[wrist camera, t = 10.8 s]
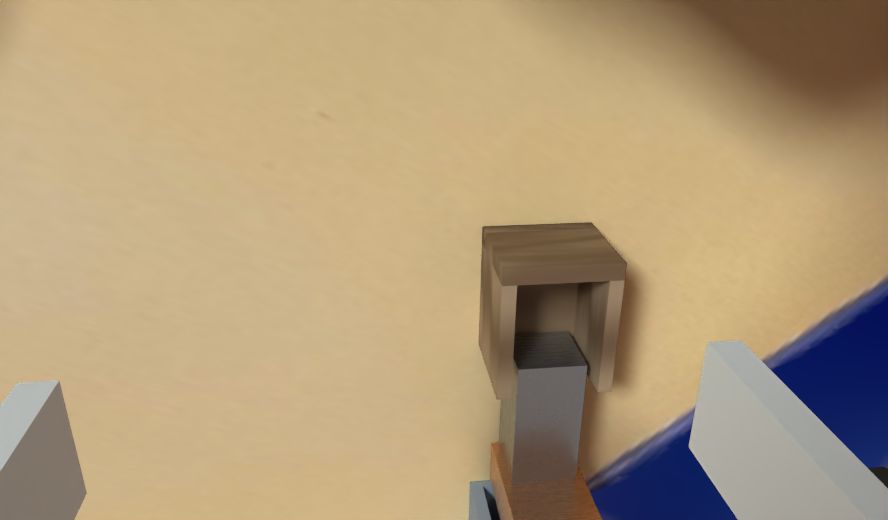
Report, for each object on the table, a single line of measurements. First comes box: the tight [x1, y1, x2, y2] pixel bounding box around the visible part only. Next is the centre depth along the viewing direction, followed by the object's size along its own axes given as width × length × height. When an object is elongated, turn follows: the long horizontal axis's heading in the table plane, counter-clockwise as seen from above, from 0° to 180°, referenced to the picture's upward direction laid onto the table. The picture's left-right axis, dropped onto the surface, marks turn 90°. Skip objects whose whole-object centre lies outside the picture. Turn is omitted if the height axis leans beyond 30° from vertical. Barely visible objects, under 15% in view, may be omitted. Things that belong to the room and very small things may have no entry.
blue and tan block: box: [490, 331, 602, 520], centre depth 43 cm, size 14×5×9 cm, turn 179°
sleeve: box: [479, 223, 627, 399], centre depth 42 cm, size 8×7×6 cm
